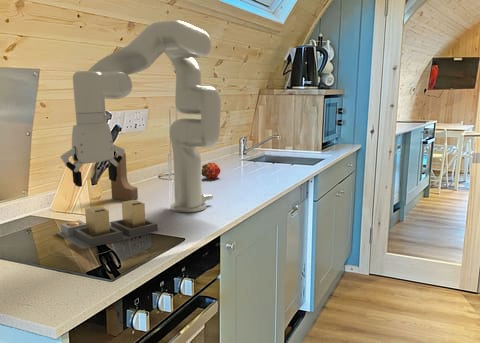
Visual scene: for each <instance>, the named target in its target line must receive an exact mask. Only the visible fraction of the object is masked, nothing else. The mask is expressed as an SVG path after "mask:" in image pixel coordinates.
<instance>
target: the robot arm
mask: <svg viewBox="0 0 480 343" xmlns="http://www.w3.org/2000/svg"><path fill="white" fill-rule="evenodd" d="M211 48H212V40H211V38H210V35H209V34H208V33H207V32H206V31H205V30H203V29H201V28H199V27H196V26H194V25H192V24H190V23H187V22H184V21H182V20H169V21H167V20H165V21H157V22H153V23H150V24H149V25H148V26H146V28H144V29H143V30H142V31H141V32H140V33H139V34H138V35H137V36H136V37H135V38H134V39H133V40H132V41H131V42H130V43H129V44H126V45H125V46H124V47H122V48H119V49H117V50H116V51H114V52H112V53H110V54H108V55H106V56H105V57H103V58H101V59H100V60H98V61H97V62H95V63H94V64H93V65H92V66H91V67H90V68H89V69H88V70H85V71H84V70H83V71H76V72H74V73H73V75H72V85H73V86H72V87H73V99H74V101H73V102H74V108H75V109H74V113H75V124H74V125H73V126H72V131H71V132H72V133H71V148H70V149H69V150H68V151H66V152H64V153H63V154H61V155H60V159H61V161H62V162H63V164H64V166H66V168H68V169H69V170H70V171H71V172H72V182H73V184H74V185H75V186H76V187H78V188H80V187H83V180H82V179H83V178H82V172H81V171H80V170H81V168H82V166H83V165H85V164H86V165H87V164H92V163H93V164H94V163H95V164H96V163H100V162H101V163H102V162H106V163H108V164H109V165H108V166H107V169H108V172H107V173H108V180H110V181H111V180H112V181H116V177H117V166H118V163H119V162H120V161H121V159H122V156H123V154H124V152H125V149H124V148H122V147H120V146H118V145H116V144H114V140H113V136H112V135H113V134H112V131H111V127H110V125H109V123H107V122H108V120H109V119H111V117H112V116H111V114H110V113H107V111H106V101H105V99H108V100H119V99H124V98H126V97H128V95H130V93H131V91H132V89H133V81H132V79H131V77H130V75H135V74H138V73H140V72H143V71H145V70H148V69H149V68H150V67H151V66H152V65H153V64H154V63H155V62H156V61H157V59H159V57H160V56H162V54H163V53H165V55H166V57H167V58H168V59H169V60H170V62H171V63H172V66H173V68H174V70H175V99H174V102H175V109H176V111H177V112H179V113H180V114H181V115H193V116H200V117H201V118H189V117H188V118H178V119H176V120H174V121H173V122H172V123H171V125H170V127H169V137H170V138H169V139H170V142H171V147H172V148H171V149H172V154H173V155H172V156H173V184H174V186H173V187H174V190H173V191H174V202H173V203H171V204H170V206H169V208H170V210H171V211H174V212H177V213H195V212H200V211H203V210H205V209H207V204H206V203H205V202H206V201H210V200H213V197H214V196H213V194H211V193H210V194H205V193H202V190H203V189H202V174H201V173H202V158H201V155H200V152H199V150H198V148H205V149H206V148H208V149H209V148H213V147H214V146H216V145H217V143H218V142H219V138H220V131H221V130H220V128H221V110H222V108H221V107H222V102H221V97H220V96H221V95H220V93H219V92H218V90H217V89H216V88H215V87H213V86H207V85H205V86H203V85H202V73H201V68H200V66H199V64H198V63H197V61H196V59H200V58H201V59H202V58H204V57H206V56H208V55H209V54H210V51H211ZM114 152H117V156H116V157H115V158H114ZM70 157H71V158H72V161H73V163H72V162H71V161H70Z"/></svg>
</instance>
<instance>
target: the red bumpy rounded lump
mask: <svg viewBox="0 0 480 343" xmlns="http://www.w3.org/2000/svg"><path fill="white" fill-rule="evenodd" d="M220 174H221V168H220V166H219V165H218V164H216V163H215V162H208V163H205V164H203V165H201V176H202V177H205V178H206V180H209V179H210V180H212V179H218V177H219V175H220Z"/></svg>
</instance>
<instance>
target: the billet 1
mask: <svg viewBox="0 0 480 343" xmlns="http://www.w3.org/2000/svg"><path fill="white" fill-rule="evenodd" d="M84 213H85V223H86V231H87V234H88V235H90V236H91V237H96V236H100V235H105V234H109V233H110V226H109V222H110V212H109V209H107V208H104V207H102V206H100V205H98V206H91V207H86V208H85V209H84Z"/></svg>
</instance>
